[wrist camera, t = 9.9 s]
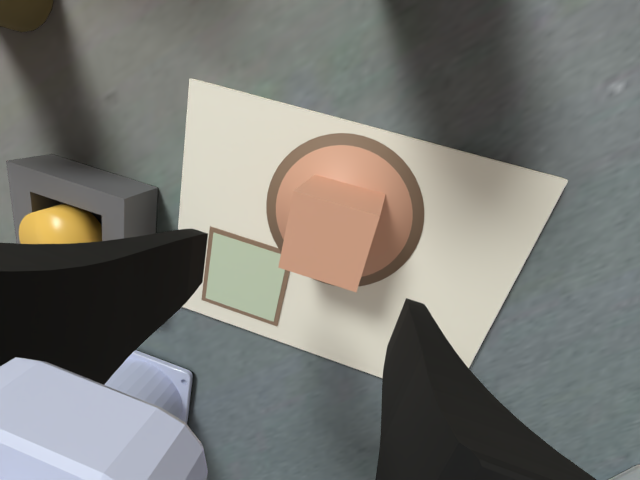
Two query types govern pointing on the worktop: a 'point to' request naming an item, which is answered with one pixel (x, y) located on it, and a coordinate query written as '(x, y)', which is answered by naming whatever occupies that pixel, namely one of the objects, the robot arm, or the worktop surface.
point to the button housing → (82, 194)
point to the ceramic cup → (629, 474)
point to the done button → (60, 226)
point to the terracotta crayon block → (330, 231)
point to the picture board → (389, 239)
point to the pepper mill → (24, 14)
